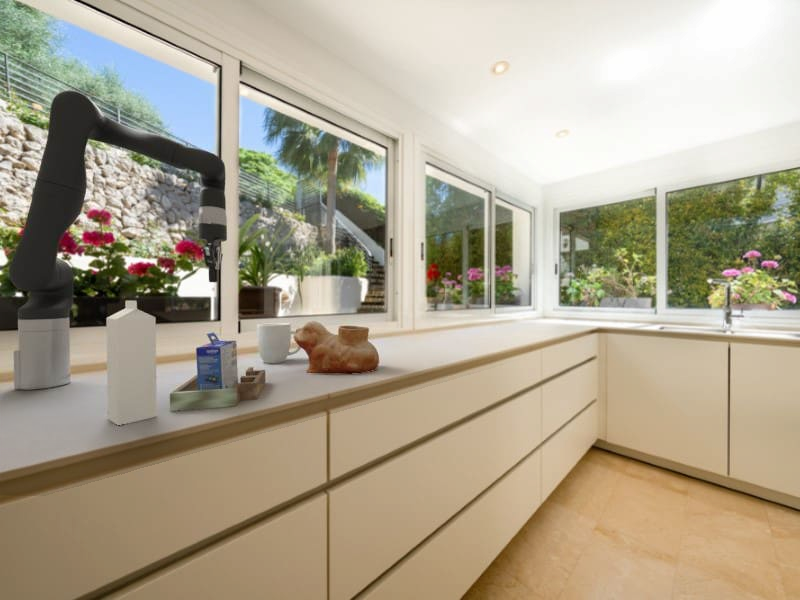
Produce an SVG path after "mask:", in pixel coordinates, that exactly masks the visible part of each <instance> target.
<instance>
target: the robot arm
mask: <svg viewBox="0 0 800 600" xmlns="http://www.w3.org/2000/svg"><path fill="white" fill-rule="evenodd" d="M48 121H49V122H48V131H47V138H46V143H45V148H44V150H43V154H42V156H41V157H42V158H41V160H40V166H39V170H38V172H37V176H36V179H35V183H34V187H33V191H32V196H31V201H30V205H29V210H28V213H27V215H26V216H27V217H26V221H25V223H24V227H23V228H24V229H23V232H22V233H21V237H20V240H19V242H18V244H17V247H16V249H15V251H14V254H13V256H12V259H11V261H10V264H9V268H8V277H9V279H10V281H11V283H12V284H13V286H15V288H17V289H19V290H21V291H24V292H28V294H29V295H28V300H27V301H26V303H25V304H23V305H22V306H21V307H19V308H18V310H17V328H18V329H17V333H18V334H17V335H18V337H17V339H18V341H17V342H18V349H16V350H14V351H13V389H14V390H27V391H28V390H40V389H48V388H54V387H60V386H63V385H67V384H69V383H71V349H70V348H71V344H70V342H71V341H70V340H71V337H70V335H71V334H70V311H71V309H72V307H73V303H74V290H75V288H74V285H75V284H74V283H75V281H74V273H73V269H72V267H71V266H70V264H69V263H68V262H66V261H65V260H63V259H61V258H59V257H57V256H58V251H59V247H60V243H61V240H62V239H63V237H64V235H65V233H66V232H67V231H68V230H69V229H70V227H71V226H72V225H73V224H74V223H75V222H76V220H77V219H78V218H79V216H80V214H81V213H82V209H83V206H84V202H85V198H86V195H87V194H86V192H87V184H88V183H87V182H88V178H87V168H86V150H87V145H88V141H89V140H91V141H94V142H95V141H96V142H99V143H104V144H107V145H111V146H116V147H118V148H122V149H125V150H129V151H131V152H133V153H136V154H139V155H142V156H145V157H147V158H149V159H152V160H155V161H157V162H160V163H162V164H165V165H167V166H170V167H172V168H175V169H178V170H182V171H183V170H184V171H185V170H189V171H193V172H196V173H198V174H199V179H200V180H199V181H200V184H199V185H200V191H199V193H198V194H199V195H198V208H199V209H198V214H197V215H198V217H197V218H198V221H197V223H198V227H197V228H198V229H197V230H198V239H199V240H201V241H202V242H203V241H204V242H205V243H204V244H205V245H204V247H203V248H202V253H203V254H202V255H203V259H204V263H205V266H206V267H207V270H208V282H209V283H219V270H220V269H221V267H222V261H223V260H222V259H223V249H222V247H221V244H220V243H222V242H226V241H227V240H228V225H227V224H228V221H227V220H228V218H227V212H226V211H227V210H226V207H227V206H226V205H227V203H226V202H227V201H226V194H225V193H226V192H225V190H226V166H225V162H224V161H223V160H222V158H221V157H220V156H218V155H216V154H214V153H212V152H210V151H207V150H204V149H201V148H200V149H199V148H197V147H191V146H187V145H185V144H183V143H180V142H179V141H176V140H173V139H171V138H169V137H167V136H163V135H160V134H157V133H153V132H150V131H145V130H141V129H136V128H132V127H130V126H127V125H125V124H122V123H121V122H118V121H117V120H115V119H113V118H111V117H109V116H108V115H105V114H103V112H102V111H101V110H100V108H99V107H98V106H97V105H96V104H95V103H94V102H93V101H92V100H91V98H90V97H88V96H87V95H86V94H84V93H83V92H80V91H78V90H75V89H66V90H61V91H60V92H58V93H57V94H56V95H54V96H53V99H52V100H51V104H50V109H49V120H48Z"/></svg>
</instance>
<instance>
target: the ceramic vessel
mask: <svg viewBox="0 0 800 600" xmlns="http://www.w3.org/2000/svg"><path fill="white" fill-rule="evenodd" d="M295 331H296V332H295V334H293V339H294V340H293V341H295V343H296V344H297V345H298V347H299V346H300V347H301V349H302V350H303V351H304V352H305V353H306V355H307V357H308V362H309V363H308V364H309V365H308V368H307V370H306V374H308V373H348V374H347V375H353V374H352V373H359V374H363V373H362V372H365V373H368V372H367V371H370V372H373V371H372V370H375V369H376V370H377V368H378V366H379V364H380V356H379V352H378V350H377V347H376V346H375V345H373V343H372V342H370V341H369V340H368V339H369V338H368V337H369V331H370V328H369V327H366V326H357V325H339V326H338V332H337V334H334V333H332V332H331V331H329V330H328V329H327V328H326V327H325V326H324V325H323V324H321V322H318V321H316V320H315V321H314V320H311V321H309V322H306V323H305V324H304V326H302V327H299V328H296V330H295ZM376 370H375V371H376Z"/></svg>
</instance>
